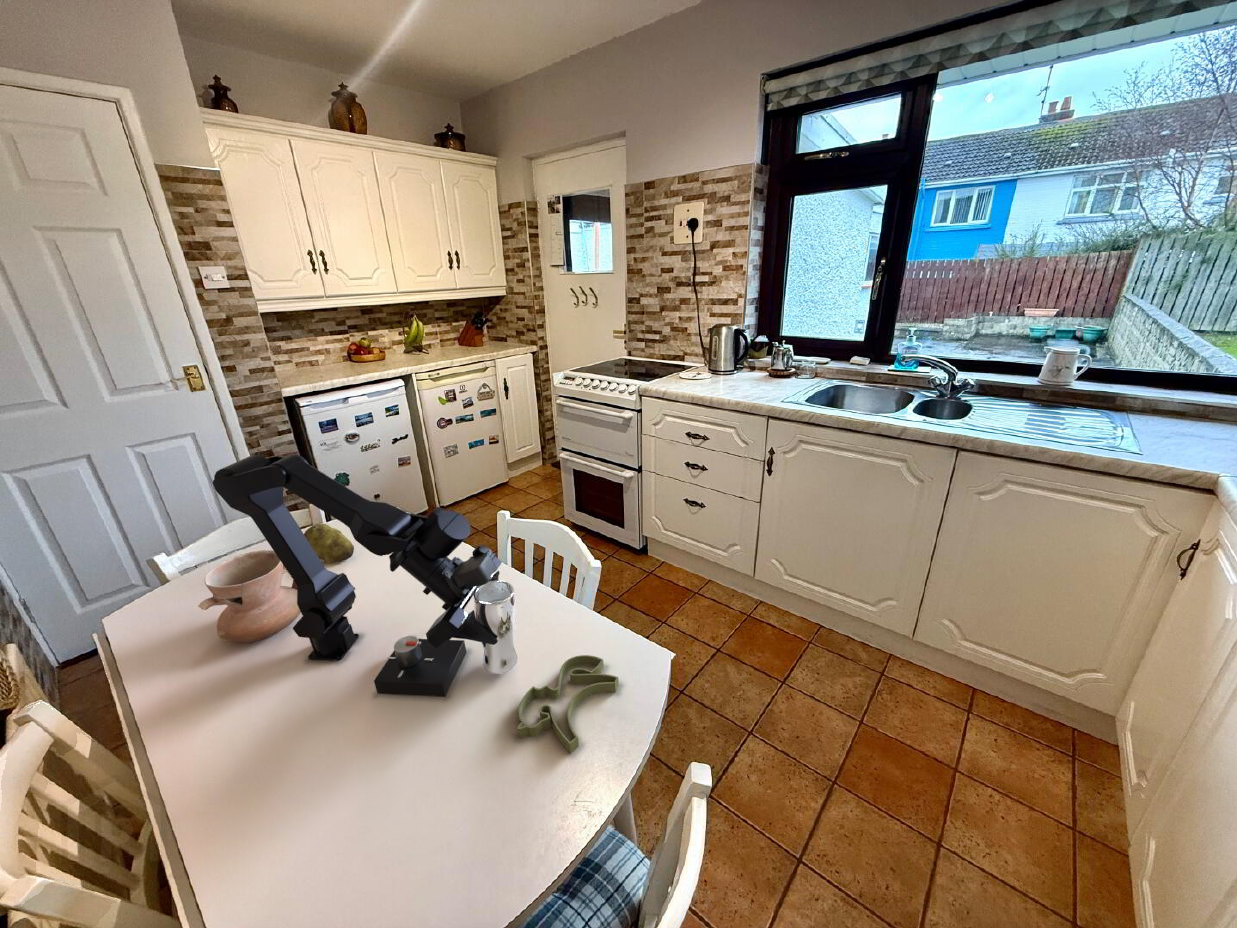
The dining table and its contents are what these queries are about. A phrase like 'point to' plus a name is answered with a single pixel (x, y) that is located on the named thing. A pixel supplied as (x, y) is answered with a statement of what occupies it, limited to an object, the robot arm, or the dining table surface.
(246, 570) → the ceramic jug
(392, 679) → the hob panel
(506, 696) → the dining table surface
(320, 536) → the potato
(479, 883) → the dining table surface
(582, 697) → the cookie cutter
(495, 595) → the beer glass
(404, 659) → the hob knob
